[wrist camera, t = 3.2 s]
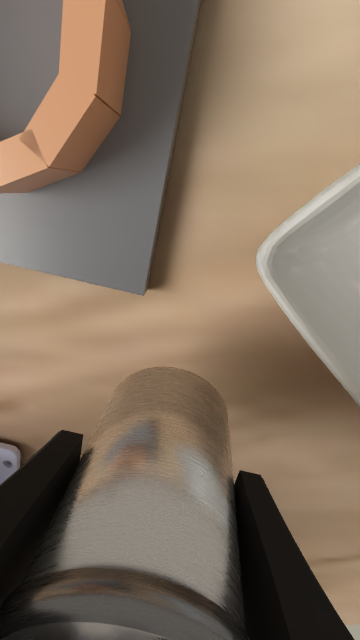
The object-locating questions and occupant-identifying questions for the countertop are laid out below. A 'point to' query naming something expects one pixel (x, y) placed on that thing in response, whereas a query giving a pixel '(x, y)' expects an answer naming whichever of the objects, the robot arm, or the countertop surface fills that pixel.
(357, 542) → the countertop surface
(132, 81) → the duct flange
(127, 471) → the silver metal cylinder
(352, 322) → the square plate
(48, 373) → the countertop surface
